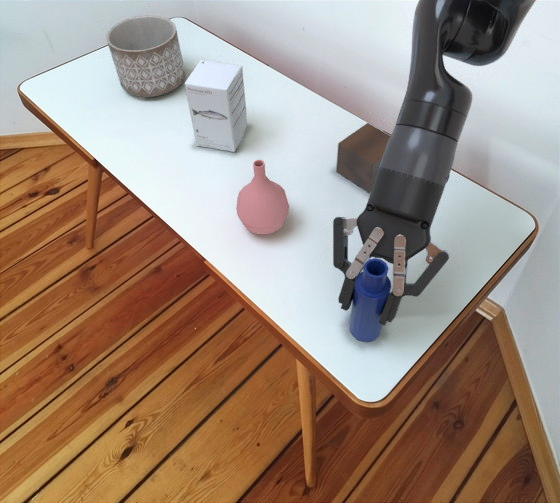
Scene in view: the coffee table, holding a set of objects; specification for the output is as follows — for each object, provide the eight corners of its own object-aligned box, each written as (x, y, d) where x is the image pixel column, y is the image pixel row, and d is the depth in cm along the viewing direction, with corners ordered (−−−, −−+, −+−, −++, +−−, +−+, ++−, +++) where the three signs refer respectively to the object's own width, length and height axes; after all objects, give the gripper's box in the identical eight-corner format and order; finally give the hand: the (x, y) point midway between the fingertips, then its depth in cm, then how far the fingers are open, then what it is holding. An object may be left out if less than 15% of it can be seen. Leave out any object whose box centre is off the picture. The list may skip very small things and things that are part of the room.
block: (397, 171, 84) (402, 142, 79) (369, 193, 81) (373, 164, 76) (364, 151, 87) (367, 122, 82) (336, 172, 84) (338, 143, 80)
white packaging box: (195, 147, 89) (181, 83, 79) (211, 121, 94) (200, 57, 84) (235, 154, 88) (226, 89, 78) (249, 127, 92) (243, 63, 82)
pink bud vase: (248, 249, 75) (240, 190, 65) (231, 214, 79) (222, 153, 70) (297, 233, 76) (296, 173, 67) (278, 199, 81) (275, 138, 71)
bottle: (387, 328, 66) (402, 268, 56) (366, 348, 64) (378, 289, 54) (363, 309, 68) (374, 247, 58) (342, 327, 66) (349, 267, 56)
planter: (187, 62, 106) (178, 13, 98) (184, 99, 98) (173, 48, 90) (126, 66, 106) (111, 17, 98) (118, 103, 98) (101, 53, 90)
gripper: (345, 153, 56) (298, 299, 59) (477, 191, 52) (420, 347, 55) (358, 160, 63) (316, 290, 66) (476, 194, 59) (425, 332, 62)
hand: (364, 315), depth 60 cm, fingers closed on bottle, 4 cm apart
